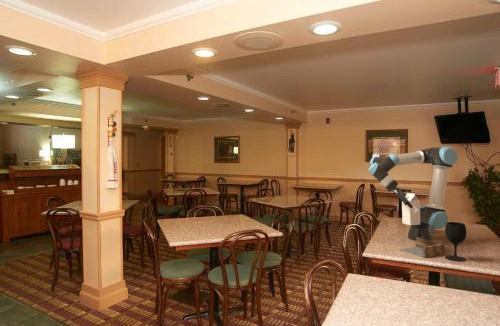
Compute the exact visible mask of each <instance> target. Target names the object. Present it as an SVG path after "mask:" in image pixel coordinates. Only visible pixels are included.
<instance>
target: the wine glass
mask: <svg viewBox="0 0 500 326" xmlns="http://www.w3.org/2000/svg"><path fill="white" fill-rule="evenodd" d="M444 234H445V237H446V238H447V240H448V241H449V242H450V243H452V244H453V246H454V247H453V248H454V249H453V250H454V254H453V255H452V254H450V255H449V254H448V255H444V258H445V259H447V260H450V261H451V262H453V261H454V262H458V263H459V262H462V263H463V262H466V261H467V258H465V256H464V257H463V256H460V255H458V254H457V248H458V245H460V244H461V243H463V242H464V241H465V240H466V237H467V226H466V224H465V223H463V222H456V221H448V222H447V223H446V226H445V227H444Z"/></svg>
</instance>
